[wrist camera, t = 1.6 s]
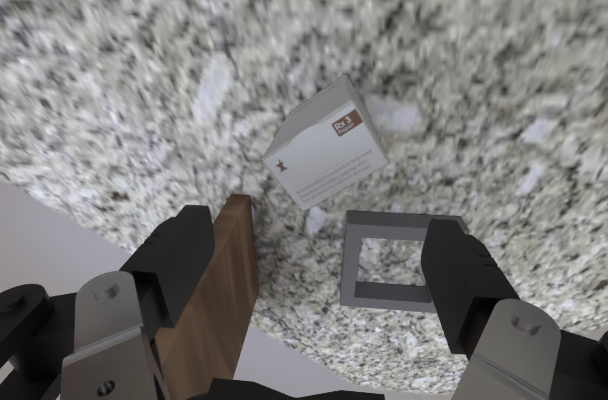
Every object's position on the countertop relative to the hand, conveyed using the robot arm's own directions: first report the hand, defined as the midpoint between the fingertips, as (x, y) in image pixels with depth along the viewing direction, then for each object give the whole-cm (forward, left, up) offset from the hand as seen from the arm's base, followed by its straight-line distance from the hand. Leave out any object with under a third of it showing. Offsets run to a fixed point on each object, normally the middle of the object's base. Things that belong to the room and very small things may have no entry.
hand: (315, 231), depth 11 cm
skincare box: (0, 0, -19) cm, 19 cm away
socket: (-8, +16, -18) cm, 26 cm away
